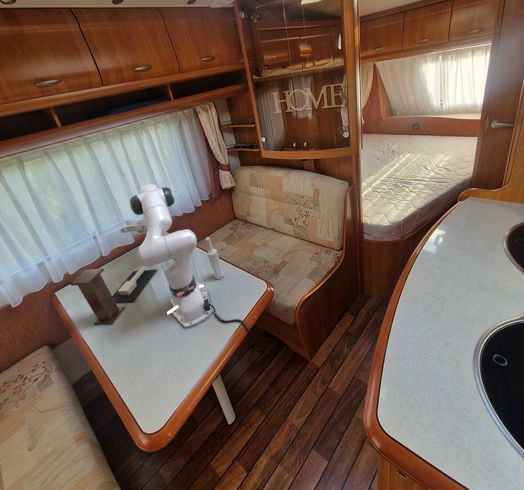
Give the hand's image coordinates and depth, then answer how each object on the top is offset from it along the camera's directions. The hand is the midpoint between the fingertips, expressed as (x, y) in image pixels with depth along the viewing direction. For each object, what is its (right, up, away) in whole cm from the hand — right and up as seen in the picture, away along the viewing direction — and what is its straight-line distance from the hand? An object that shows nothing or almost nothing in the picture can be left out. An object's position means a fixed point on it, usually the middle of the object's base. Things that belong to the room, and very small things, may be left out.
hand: (128, 229), depth 157 cm
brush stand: (+1, -42, -20) cm, 47 cm away
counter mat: (+4, -33, -1) cm, 33 cm away
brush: (+4, -31, +1) cm, 31 cm away
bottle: (+55, -26, -8) cm, 61 cm away
